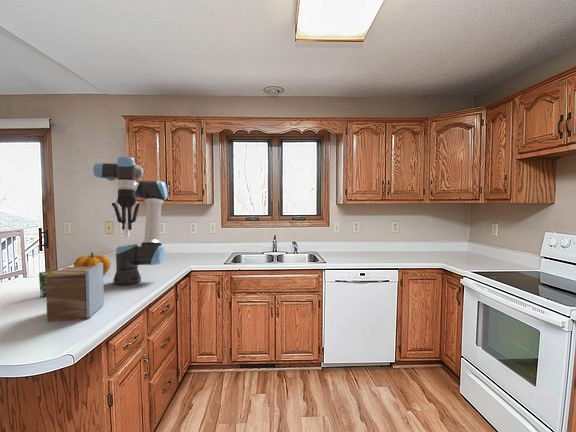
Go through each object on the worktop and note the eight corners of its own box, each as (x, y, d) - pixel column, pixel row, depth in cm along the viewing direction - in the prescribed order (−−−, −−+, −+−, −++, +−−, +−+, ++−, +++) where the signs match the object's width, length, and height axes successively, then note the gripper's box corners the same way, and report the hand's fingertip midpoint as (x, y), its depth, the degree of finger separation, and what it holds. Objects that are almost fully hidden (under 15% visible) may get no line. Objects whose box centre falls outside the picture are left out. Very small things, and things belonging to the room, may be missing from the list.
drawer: (71, 306, 141) (70, 264, 140) (103, 304, 144) (103, 262, 143) (52, 320, 124) (50, 272, 123) (89, 317, 128) (88, 270, 127)
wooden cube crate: (66, 307, 140) (65, 267, 139) (100, 305, 144) (99, 266, 143) (47, 321, 124) (45, 276, 123) (85, 318, 127) (84, 274, 126)
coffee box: (42, 298, 154) (41, 272, 153) (39, 297, 155) (38, 272, 155) (60, 294, 161) (59, 269, 160) (57, 293, 162) (56, 269, 162)
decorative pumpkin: (65, 277, 196) (64, 254, 196) (96, 269, 217) (96, 249, 217) (88, 279, 190) (87, 256, 189) (118, 272, 211) (117, 251, 210)
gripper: (109, 188, 143) (110, 237, 144) (138, 188, 146) (139, 237, 147) (114, 189, 150) (115, 236, 151) (142, 189, 153) (143, 235, 154)
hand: (127, 236), depth 149 cm, fingers closed
